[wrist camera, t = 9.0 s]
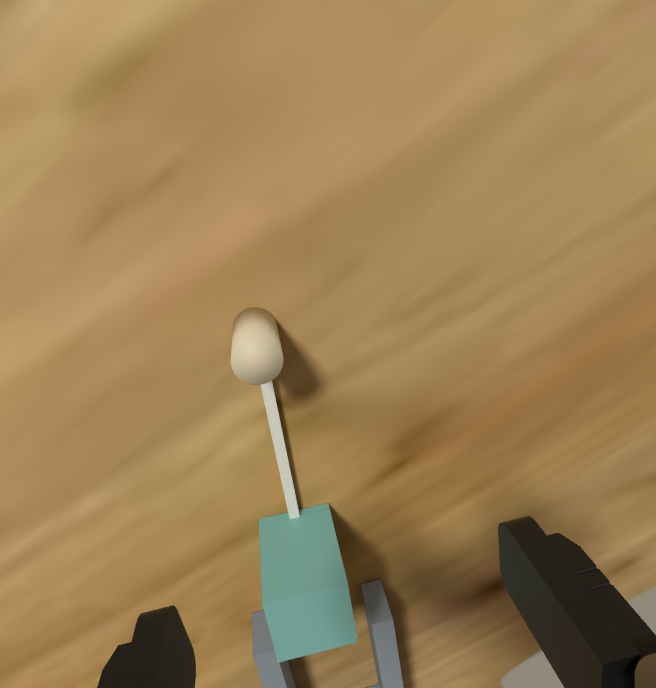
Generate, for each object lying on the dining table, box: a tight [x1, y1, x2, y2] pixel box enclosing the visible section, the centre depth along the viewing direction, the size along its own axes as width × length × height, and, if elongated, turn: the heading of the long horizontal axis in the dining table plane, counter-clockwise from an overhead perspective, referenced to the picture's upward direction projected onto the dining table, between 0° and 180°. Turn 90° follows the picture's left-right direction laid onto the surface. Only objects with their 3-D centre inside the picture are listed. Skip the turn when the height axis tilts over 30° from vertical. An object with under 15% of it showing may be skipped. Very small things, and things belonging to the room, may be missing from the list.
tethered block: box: [231, 307, 358, 663], centre depth 29 cm, size 5×20×7 cm, turn 8°
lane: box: [252, 579, 404, 688], centre depth 38 cm, size 10×14×4 cm
